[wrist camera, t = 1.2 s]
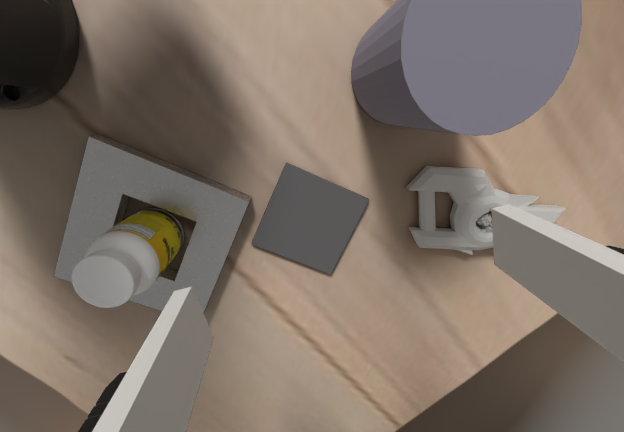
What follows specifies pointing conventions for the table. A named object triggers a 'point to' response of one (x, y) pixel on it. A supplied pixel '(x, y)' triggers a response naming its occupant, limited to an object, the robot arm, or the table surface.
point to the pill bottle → (128, 258)
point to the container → (465, 62)
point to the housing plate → (161, 193)
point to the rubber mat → (309, 219)
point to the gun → (465, 208)
